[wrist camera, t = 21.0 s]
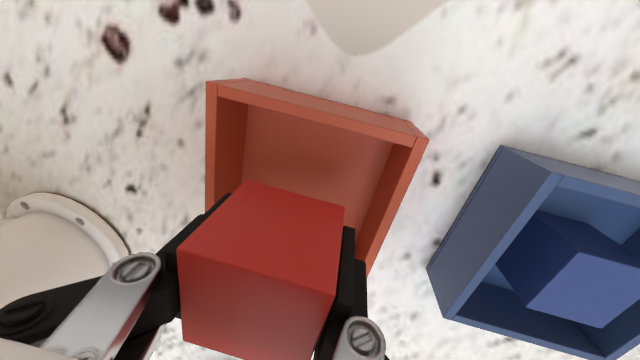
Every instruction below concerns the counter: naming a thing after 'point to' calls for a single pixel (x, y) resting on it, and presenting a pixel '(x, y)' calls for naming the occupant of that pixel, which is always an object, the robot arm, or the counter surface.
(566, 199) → the blue bin
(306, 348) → the red block
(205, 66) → the counter surface
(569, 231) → the blue block
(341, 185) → the terracotta bin
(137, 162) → the counter surface
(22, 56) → the counter surface
